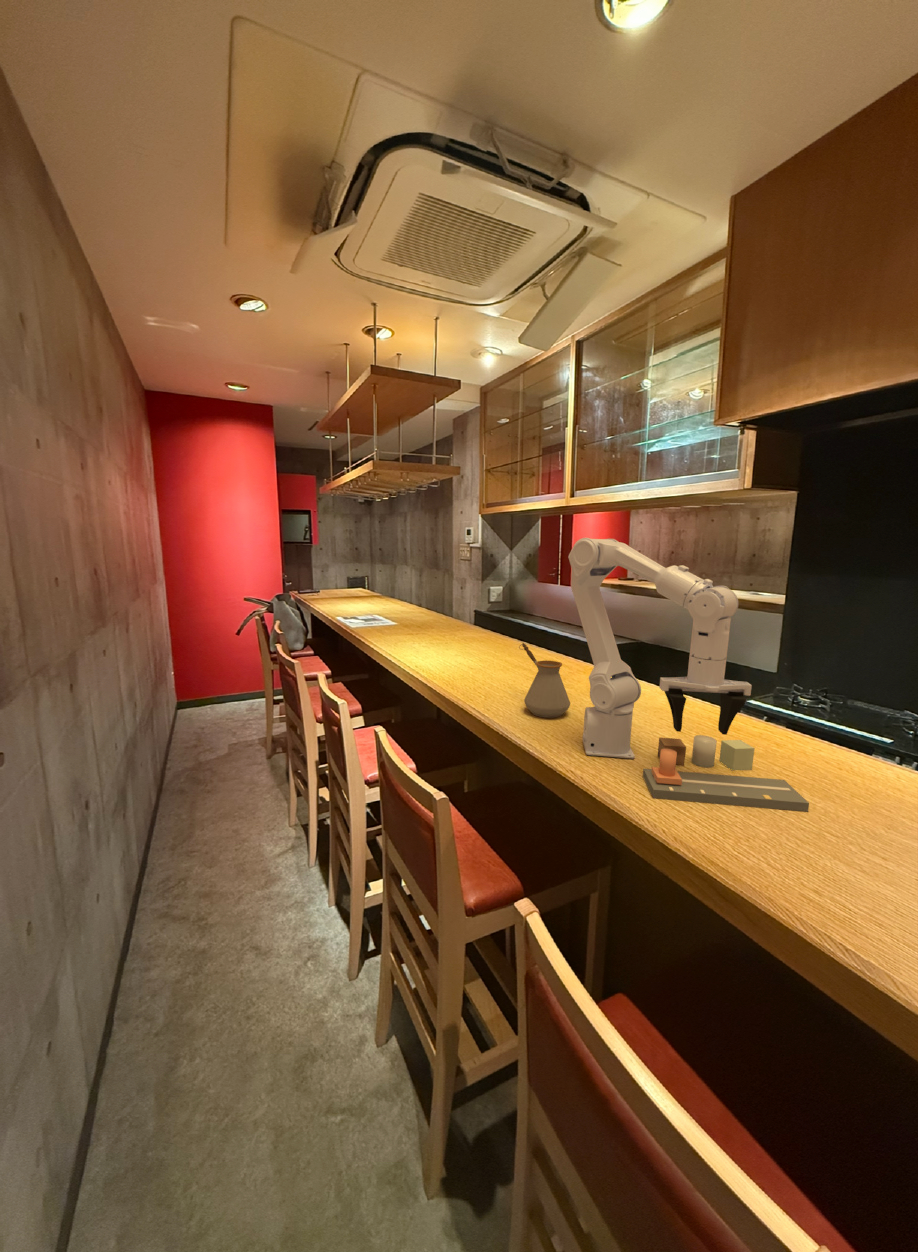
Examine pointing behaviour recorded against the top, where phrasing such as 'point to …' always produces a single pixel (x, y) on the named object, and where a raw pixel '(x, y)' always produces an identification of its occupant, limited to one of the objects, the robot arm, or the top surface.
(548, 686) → the coffee pot
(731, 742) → the sage block
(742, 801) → the slate board
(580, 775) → the top surface
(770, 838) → the top surface
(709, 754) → the grey cylinder
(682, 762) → the walnut block
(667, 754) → the counter slider
